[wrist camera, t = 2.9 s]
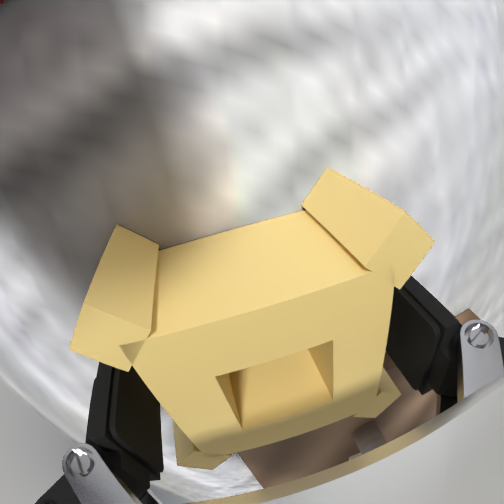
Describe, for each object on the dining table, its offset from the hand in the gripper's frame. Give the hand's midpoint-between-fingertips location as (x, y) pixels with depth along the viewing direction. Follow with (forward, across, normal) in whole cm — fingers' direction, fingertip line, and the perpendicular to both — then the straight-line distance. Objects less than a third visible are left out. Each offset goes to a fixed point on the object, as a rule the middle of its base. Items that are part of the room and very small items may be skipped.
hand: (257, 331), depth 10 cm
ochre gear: (+1, 0, 0) cm, 1 cm away
